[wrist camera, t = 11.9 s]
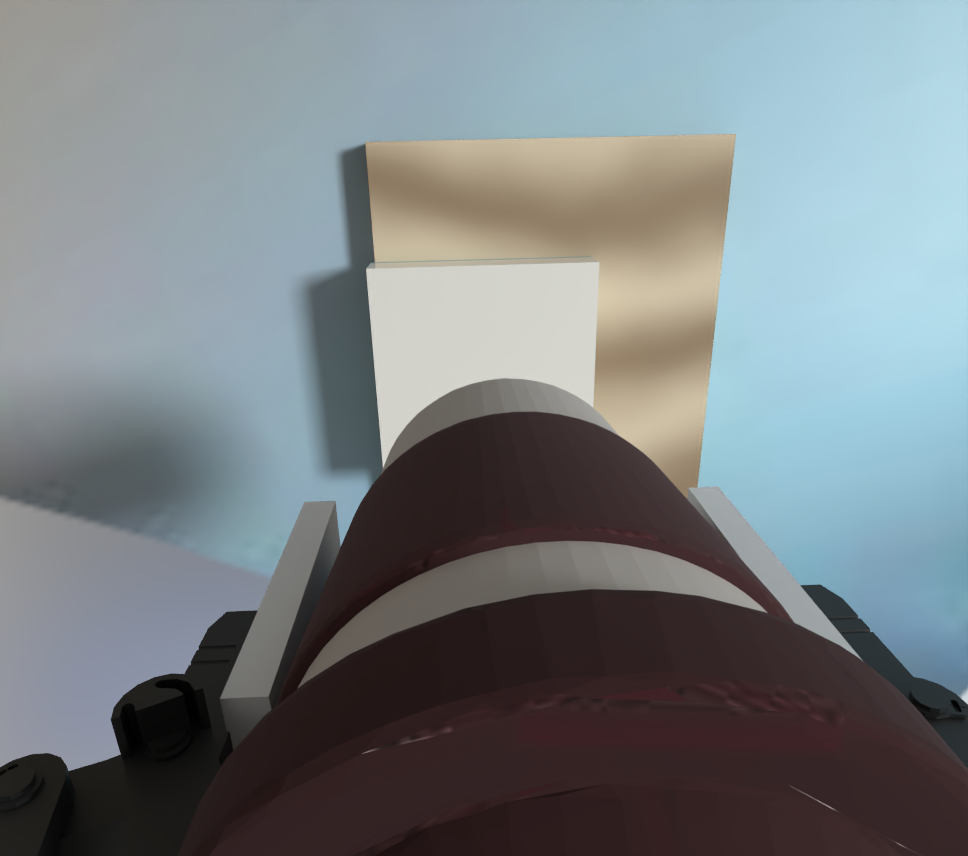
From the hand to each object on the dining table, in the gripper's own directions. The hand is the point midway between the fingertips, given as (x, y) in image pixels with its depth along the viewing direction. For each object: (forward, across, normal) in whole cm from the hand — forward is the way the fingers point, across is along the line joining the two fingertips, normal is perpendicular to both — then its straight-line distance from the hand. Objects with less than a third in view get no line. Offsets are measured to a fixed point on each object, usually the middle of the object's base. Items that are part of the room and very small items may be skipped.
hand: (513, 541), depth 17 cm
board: (+18, +3, +1) cm, 18 cm away
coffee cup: (+3, 0, 0) cm, 3 cm away
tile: (+15, +5, 0) cm, 16 cm away
